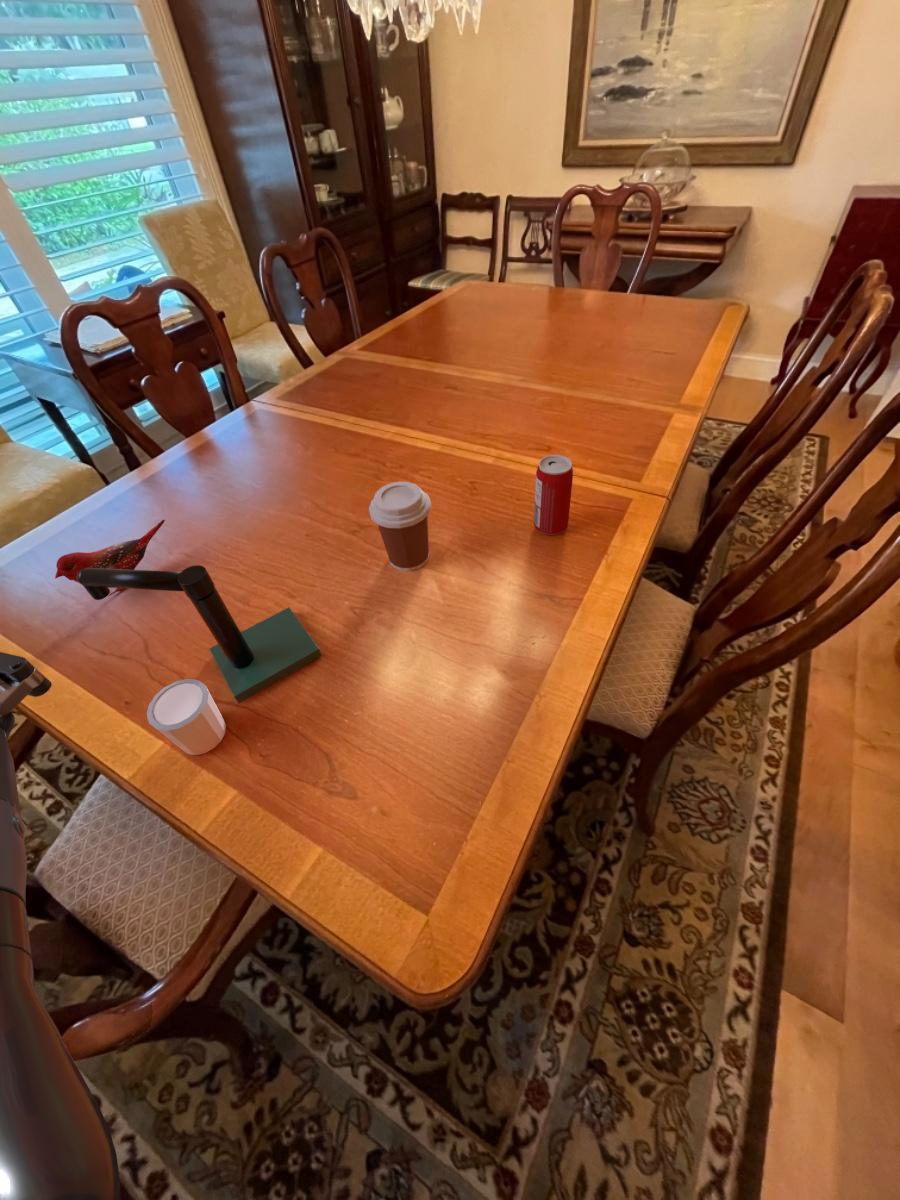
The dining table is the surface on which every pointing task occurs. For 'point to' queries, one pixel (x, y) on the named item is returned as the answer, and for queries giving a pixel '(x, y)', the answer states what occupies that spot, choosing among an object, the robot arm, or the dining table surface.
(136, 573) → the spout
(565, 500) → the soda can
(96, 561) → the decorative bird figurine
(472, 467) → the dining table surface
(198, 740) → the shot glass
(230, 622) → the faucet
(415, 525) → the coffee cup
